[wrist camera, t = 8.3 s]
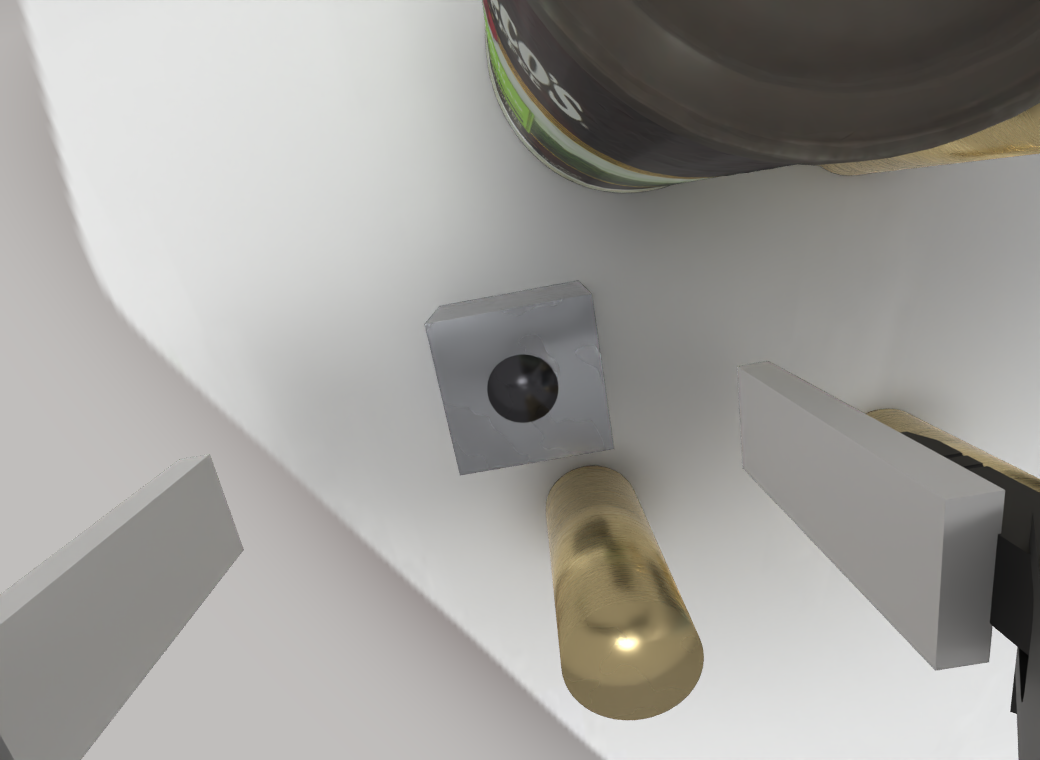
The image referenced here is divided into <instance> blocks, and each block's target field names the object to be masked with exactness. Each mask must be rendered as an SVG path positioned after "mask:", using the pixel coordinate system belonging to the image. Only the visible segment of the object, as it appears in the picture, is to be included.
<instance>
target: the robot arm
mask: <svg viewBox="0 0 1040 760" xmlns="http://www.w3.org/2000/svg"><path fill="white" fill-rule="evenodd" d="M737 373H738V391H739V409H740V427H741V445H742V463H743V469H744V470H745V471H746V472H747V473H748V474H749V475H750V476H751V478H752V479H753V480H754V481H755V482H756V483H757V484H758V485H759V486H760V487H761V488H762V489H763V490H764V491H765V492H766V493H767V494H768V495H769V496H770V497H771V499H772V500H773V501H774V502H775V503H776V504H777V505H778V506H779V507H780V508H781V509H782V510H783V511H784V512H785V513H786V514H787V515H788V516H789V517H790V518H791V520H792V521H793V522H794V523H795V524H796V525H797V526H798V527H799V528H800V529H801V530H802V531H803V532H804V533H805V534H806V535H807V536H808V537H809V538H810V539H811V541H812V542H813V543H814V544H815V545H816V546H817V547H818V548H819V549H820V550H821V551H822V552H823V553H824V554H825V555H826V556H827V557H828V558H829V559H830V560H831V562H832V563H833V564H834V565H835V566H836V567H837V568H838V569H839V570H840V571H841V572H842V573H843V574H844V575H845V576H846V577H847V578H848V579H849V580H850V581H851V583H852V584H853V585H854V586H855V587H856V588H857V589H858V590H859V591H860V592H861V593H862V594H863V595H864V596H865V597H866V598H867V599H868V600H869V601H870V602H871V604H872V605H873V606H874V607H875V608H876V609H877V610H878V611H879V612H880V613H881V614H882V615H883V616H884V617H885V618H886V619H887V620H888V621H889V622H890V623H891V625H892V626H893V627H894V628H895V629H896V630H897V631H898V632H899V633H900V634H901V635H902V636H903V637H904V638H905V639H906V640H907V641H908V642H909V643H910V644H911V646H912V647H913V648H914V649H915V650H916V651H917V652H918V653H919V654H920V655H921V656H922V657H923V658H924V659H925V660H926V661H927V662H928V663H929V664H930V665H931V667H932V668H933V669H934V670H942V669H948V668H954V667H961V666H967V665H974V664H980V663H987V662H989V657H990V646H991V636H992V626H994V627H995V628H996V629H997V630H998V631H1000V632H1001V633H1002V634H1003V635H1004V636H1005V637H1007V638H1008V639H1009V640H1010V641H1011V642H1013V643H1014V644H1015V645H1016V646H1017V647H1018V648H1017V657H1016V666H1015V674H1014V683H1013V692H1012V701H1011V710H1010V712H1013V713H1016V714H1017V728H1018V755H1019V760H1040V493H1039V492H1038V491H1036V490H1034V489H1032V488H1030V487H1028V486H1026V485H1024V484H1022V483H1020V482H1018V481H1016V480H1014V479H1012V478H1010V477H1008V476H1006V475H1005V474H1003V473H1001V472H999V471H997V470H995V469H993V468H991V467H989V466H985V467H984V466H983V463H981V462H979V461H977V460H975V459H973V458H972V457H970V456H968V455H966V456H963V454H962V452H960V451H958V450H956V449H954V448H952V447H950V446H948V445H946V444H944V443H942V442H940V441H938V440H935V439H932V438H928V437H925V436H921V435H917V434H914V433H910V432H907V431H906V432H898V431H896V430H894V429H892V428H890V427H889V426H887V425H885V424H883V423H881V422H879V421H878V420H876V419H874V418H872V417H870V416H868V415H867V414H865V413H863V412H861V411H859V410H857V409H856V408H854V407H852V406H850V405H848V404H846V403H845V402H843V401H841V400H839V399H837V398H835V397H834V396H832V395H830V394H828V393H826V392H824V391H823V390H821V389H819V388H817V387H815V386H813V385H812V384H810V383H808V382H806V381H804V380H802V379H801V378H799V377H797V376H795V375H793V374H791V373H790V372H788V371H786V370H784V369H782V368H780V367H779V366H777V365H775V364H773V363H771V362H769V361H766V362H760V363H754V364H748V365H742V366H737ZM243 550H244V549H243V546H242V544H241V541H240V538H239V535H238V532H237V530H236V527H235V524H234V521H233V518H232V515H231V512H230V510H229V507H228V504H227V501H226V498H225V496H224V493H223V490H222V487H221V484H220V481H219V479H218V476H217V473H216V470H215V467H214V465H213V462H212V459H211V456H210V454H208V455H202V456H196V457H190V458H184V459H179V460H178V461H176V463H174V464H173V465H171V466H170V467H169V468H167V469H166V470H165V471H163V472H162V473H161V474H159V475H158V476H157V477H155V478H154V479H153V480H151V481H150V482H149V483H147V484H146V485H145V486H143V487H142V488H141V489H139V490H138V491H137V492H135V493H134V494H133V495H131V496H130V497H129V498H128V499H126V500H125V501H124V502H122V503H121V504H119V505H118V506H117V507H115V508H114V509H113V510H111V511H110V512H109V513H107V514H106V515H105V516H103V517H102V518H101V519H99V520H98V521H97V522H95V523H94V524H93V525H92V526H90V527H89V528H88V529H86V530H85V531H84V532H82V533H81V534H80V535H78V536H77V537H76V538H74V539H73V540H72V541H70V542H69V543H68V544H66V545H65V546H64V547H62V548H61V549H60V550H58V551H57V552H56V553H54V554H53V555H52V556H50V557H49V558H48V559H46V560H45V561H44V562H42V563H41V564H40V565H38V566H37V567H36V568H34V569H33V570H32V571H30V572H29V573H28V574H27V575H25V576H24V577H22V578H21V579H20V580H19V581H17V582H16V583H14V584H13V585H12V586H11V587H9V588H8V589H7V590H5V591H4V592H3V593H1V594H0V760H81V759H82V758H83V757H84V755H85V754H86V753H87V751H88V750H89V749H90V747H91V746H92V745H93V744H94V742H95V741H96V740H97V738H98V737H99V736H100V735H101V733H102V732H103V731H104V729H105V728H106V727H107V726H108V724H109V723H110V722H111V720H112V719H113V718H114V717H115V715H116V714H117V713H118V711H119V710H120V709H121V707H122V706H123V705H124V704H125V702H126V701H127V700H128V699H129V697H130V696H131V695H132V693H133V692H134V691H135V690H136V688H137V687H138V686H139V684H140V683H141V682H142V680H143V679H144V678H145V677H146V675H147V674H148V673H149V671H150V670H151V669H152V668H153V666H154V665H155V664H156V662H157V661H158V660H159V659H160V657H161V656H162V655H163V653H164V652H165V651H166V650H167V648H168V647H169V646H170V644H171V643H172V642H173V641H174V639H175V638H176V637H177V635H178V634H179V633H180V631H181V630H182V629H183V628H184V626H185V625H186V623H187V622H188V621H189V620H190V619H191V617H192V616H193V614H194V613H195V612H196V611H197V610H198V608H199V607H200V606H201V604H202V603H203V602H204V601H205V599H206V598H207V597H208V595H209V594H210V593H211V591H212V590H213V589H214V588H215V586H216V585H217V584H218V582H219V581H220V580H221V579H222V577H223V576H224V575H225V573H226V572H227V570H228V569H229V568H230V567H231V566H232V564H233V563H234V561H235V560H236V559H237V558H238V557H239V555H240V554H241V553H242V551H243Z"/></svg>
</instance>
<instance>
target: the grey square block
mask: <svg viewBox="0 0 1040 760" xmlns="http://www.w3.org/2000/svg"><path fill="white" fill-rule="evenodd" d="M425 327H426V331H427V336H428V340H429V344H430V348H431V353H432V357H433V361H434V366H435V370H436V374H437V379H438V383H439V387H440V391H441V396H442V400H443V404H444V409H445V413H446V417H447V422H448V426H449V430H450V434H451V439H452V443H453V447H454V452H455V456H456V460H457V464H458V469H459V473H460V475H465V474H471V473H476V472H482V471H488V470H494V469H500V468H506V467H511V466H517V465H523V464H529V463H535V462H540V461H546V460H552V459H558V458H564V457H569V456H575V455H581V454H587V453H593V452H598V451H604V450H610V449H614V445H613V438H612V431H611V424H610V417H609V410H608V403H607V396H606V389H605V382H604V375H603V368H602V361H601V354H600V348H599V341H598V334H597V327H596V320H595V313H594V306H593V299H592V293H591V292H590V291H588V290H587V289H586V288H585V287H584V286H583V285H582V284H581V283H580V282H579V281H573V282H568V283H562V284H557V285H551V286H546V287H540V288H535V289H529V290H524V291H519V292H513V293H508V294H502V295H497V296H491V297H486V298H480V299H475V300H470V301H464V302H459V303H453V304H448V305H442V306H439V307H438V309H437V310H436V311H435V312H434V313H433V315H432V316H431V317H430V318H429V320H428V321H427V322H426V323H425Z"/></svg>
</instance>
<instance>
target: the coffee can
mask: <svg viewBox="0 0 1040 760" xmlns="http://www.w3.org/2000/svg"><path fill="white" fill-rule="evenodd" d="M482 3H483V9H484V18H485V25H486V26H485V38H486V54H487V62H488V69H489V75H490V78H491V82H492V85H493V89H494V91H495V94H496V97H497V100H498V102H499V105H500V107H501V109H502V111H503V113H504V115H505V117H506V119H507V121H508V122H509V124H510V126H511V127H512V129H513V130H514V132H515V133H516V134H517V136H518V137H519V138H520V140H521V141H522V142H523V143H524V145H525V146H526V147H527V148H528V149H529V150H530V151H531V152H532V153H533V154H534V155H535V156H536V157H537V158H538V159H539V160H540V161H541V162H542V163H544V164H545V165H546V166H548V167H549V168H550V169H551V170H552V171H554V172H556V173H557V174H559V175H561V176H563V177H564V178H566V179H568V180H571V181H573V182H575V183H577V184H580V185H583V186H585V187H588V188H591V189H596V190H601V191H608V192H617V193H633V192H643V191H650V190H655V189H660V188H663V187H666V186H669V185H673V184H678V183H684V182H690V181H696V180H702V179H708V178H713V177H719V176H728V175H734V174H739V173H749V172H754V171H760V170H767V169H773V168H777V167H783V166H789V165H795V164H800V165H825V164H838V163H850V162H861V161H869V160H877V159H885V158H892V157H896V156H900V155H905V154H909V153H914V152H918V151H922V150H927V149H931V148H934V147H937V146H940V145H944V144H947V143H950V142H953V141H956V140H959V139H962V138H965V137H967V136H970V135H972V134H975V133H977V132H980V131H982V130H985V129H987V128H990V127H992V126H994V125H997V124H999V123H1001V122H1004V121H1006V120H1008V119H1011V118H1013V117H1015V116H1017V115H1019V114H1021V113H1022V112H1024V111H1026V110H1028V109H1030V108H1032V107H1033V106H1035V105H1037V104H1039V103H1040V0H482Z"/></svg>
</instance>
